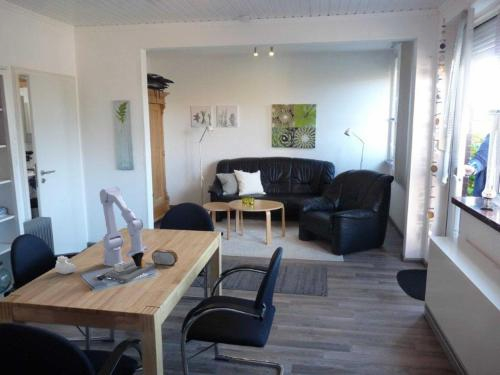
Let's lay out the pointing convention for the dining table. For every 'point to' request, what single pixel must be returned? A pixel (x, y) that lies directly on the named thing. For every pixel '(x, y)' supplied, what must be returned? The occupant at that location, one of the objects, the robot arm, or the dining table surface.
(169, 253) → the tin
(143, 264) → the block
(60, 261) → the white irregular lump
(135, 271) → the fader board
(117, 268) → the pale fader
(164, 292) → the dining table surface
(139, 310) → the dining table surface
